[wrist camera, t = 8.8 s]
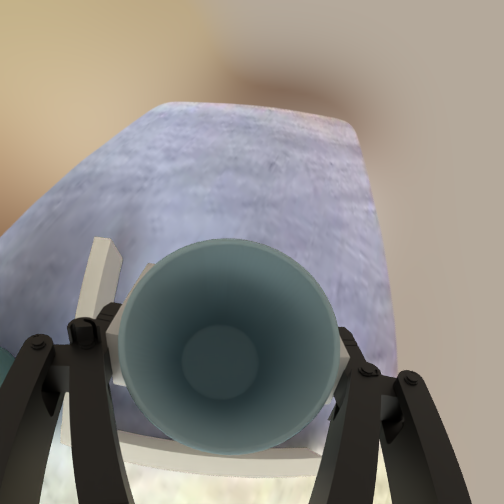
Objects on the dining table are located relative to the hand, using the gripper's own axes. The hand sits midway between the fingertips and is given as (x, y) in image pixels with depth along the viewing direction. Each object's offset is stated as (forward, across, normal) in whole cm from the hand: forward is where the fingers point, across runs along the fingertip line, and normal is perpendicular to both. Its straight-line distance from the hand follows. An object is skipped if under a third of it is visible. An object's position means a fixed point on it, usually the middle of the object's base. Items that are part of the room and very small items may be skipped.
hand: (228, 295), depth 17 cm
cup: (+1, 0, -6) cm, 6 cm away
